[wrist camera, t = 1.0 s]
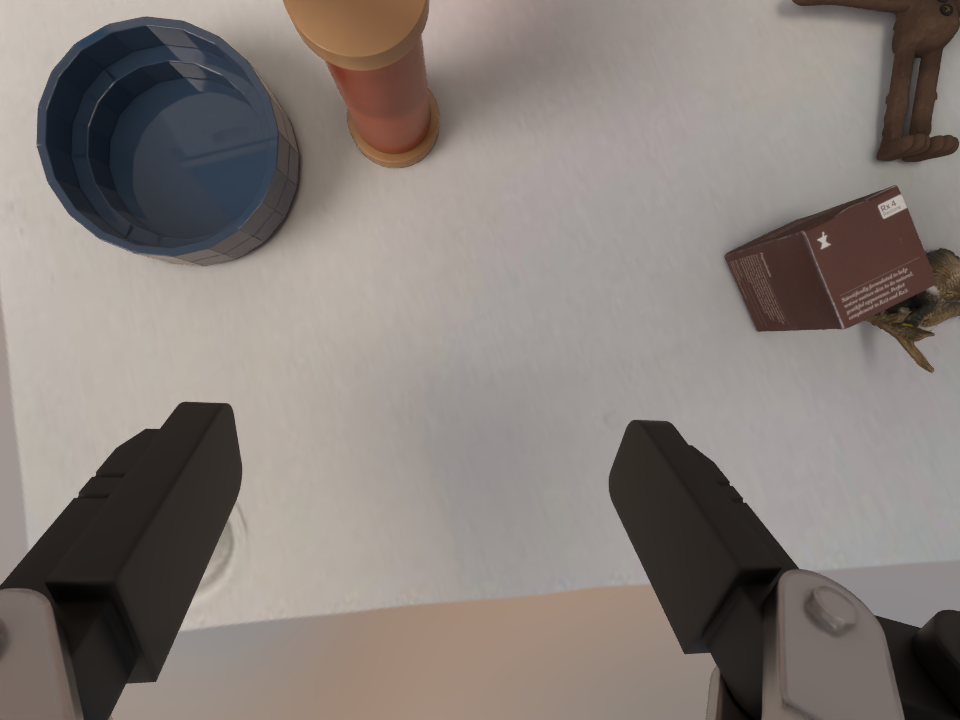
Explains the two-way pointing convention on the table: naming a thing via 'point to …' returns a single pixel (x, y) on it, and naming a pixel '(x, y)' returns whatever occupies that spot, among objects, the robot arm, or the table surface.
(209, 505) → the robot arm
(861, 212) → the box
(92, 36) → the bowl
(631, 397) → the table surface
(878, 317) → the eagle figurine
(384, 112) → the spool
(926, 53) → the bear figurine
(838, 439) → the table surface
